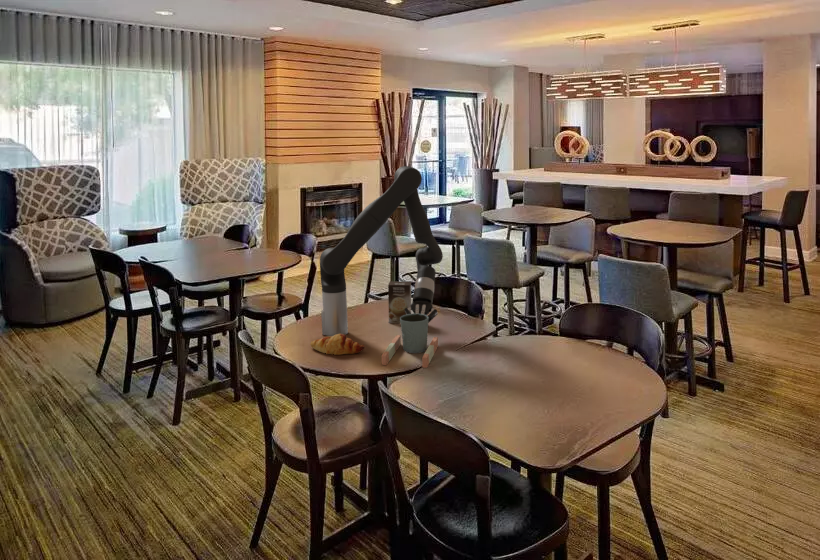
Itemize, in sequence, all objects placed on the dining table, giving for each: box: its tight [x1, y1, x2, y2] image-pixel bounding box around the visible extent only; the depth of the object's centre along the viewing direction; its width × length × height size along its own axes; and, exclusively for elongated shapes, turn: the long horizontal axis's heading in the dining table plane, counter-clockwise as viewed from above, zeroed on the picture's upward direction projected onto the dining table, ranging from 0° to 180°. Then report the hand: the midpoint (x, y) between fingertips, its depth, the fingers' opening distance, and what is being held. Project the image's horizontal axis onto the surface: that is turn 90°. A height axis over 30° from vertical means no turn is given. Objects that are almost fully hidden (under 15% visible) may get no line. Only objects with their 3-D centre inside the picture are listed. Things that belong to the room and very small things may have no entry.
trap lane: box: [381, 334, 439, 369], centre depth 235 cm, size 15×22×4 cm
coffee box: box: [387, 281, 412, 324], centre depth 274 cm, size 9×6×16 cm
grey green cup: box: [399, 313, 429, 354], centre depth 240 cm, size 10×10×12 cm
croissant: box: [310, 334, 365, 356], centre depth 240 cm, size 21×10×8 cm
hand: (418, 332), depth 246 cm, fingers closed
